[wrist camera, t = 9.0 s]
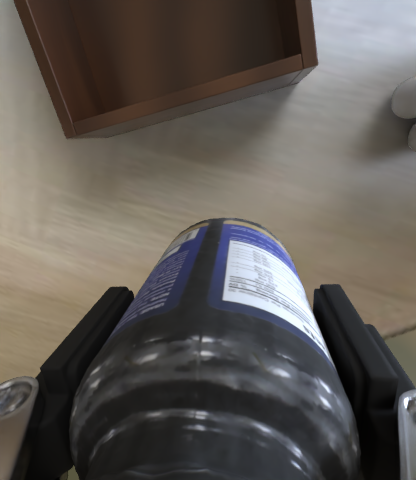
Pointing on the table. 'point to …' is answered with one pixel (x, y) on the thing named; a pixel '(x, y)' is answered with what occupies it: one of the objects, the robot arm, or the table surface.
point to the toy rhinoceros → (406, 106)
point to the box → (162, 56)
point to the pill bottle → (216, 372)
